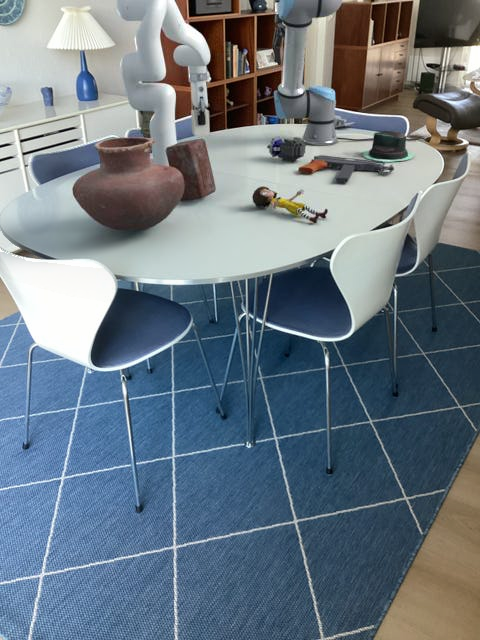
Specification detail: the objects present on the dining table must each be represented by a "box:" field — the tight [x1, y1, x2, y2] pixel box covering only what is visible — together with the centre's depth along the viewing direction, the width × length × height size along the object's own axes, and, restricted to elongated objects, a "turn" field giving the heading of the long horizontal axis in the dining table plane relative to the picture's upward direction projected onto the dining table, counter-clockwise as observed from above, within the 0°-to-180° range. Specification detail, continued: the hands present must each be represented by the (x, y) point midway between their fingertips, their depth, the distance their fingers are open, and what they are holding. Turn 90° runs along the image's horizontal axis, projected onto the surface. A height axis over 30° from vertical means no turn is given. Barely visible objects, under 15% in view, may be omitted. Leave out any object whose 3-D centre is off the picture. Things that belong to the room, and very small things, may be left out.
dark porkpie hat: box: [362, 130, 414, 163], centre depth 226 cm, size 15×19×20 cm
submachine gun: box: [298, 154, 395, 183], centre depth 205 cm, size 32×3×25 cm
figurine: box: [251, 185, 329, 224], centre depth 169 cm, size 13×8×25 cm
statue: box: [138, 81, 154, 152], centre depth 237 cm, size 11×9×30 cm
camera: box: [334, 100, 355, 128], centre depth 275 cm, size 9×12×15 cm
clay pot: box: [72, 136, 185, 232], centre depth 155 cm, size 30×30×25 cm
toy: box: [266, 135, 306, 163], centre depth 223 cm, size 9×9×15 cm
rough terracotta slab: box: [166, 138, 217, 202], centre depth 188 cm, size 17×10×40 cm
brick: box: [190, 108, 211, 137], centre depth 237 cm, size 5×6×10 cm
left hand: (200, 123), depth 237 cm, fingers closed on brick, 5 cm apart
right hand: (282, 64), depth 265 cm, fingers open, 13 cm apart
